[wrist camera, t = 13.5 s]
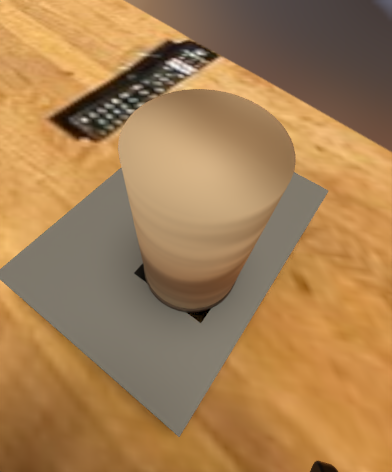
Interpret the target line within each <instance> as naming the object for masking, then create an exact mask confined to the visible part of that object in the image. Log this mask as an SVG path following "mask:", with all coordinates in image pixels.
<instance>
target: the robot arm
mask: <svg viewBox="0 0 392 472" xmlns="http://www.w3.org/2000/svg"><path fill="white" fill-rule="evenodd" d="M310 472H338V471H337V469H336V468H335V467H334V466H333V465H331V464H328V463H324V462H321V461H316V462H314V464H313V466H312V468H311V471H310Z"/></svg>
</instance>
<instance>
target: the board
mask: <svg viewBox="0 0 392 472" xmlns="http://www.w3.org/2000/svg"><path fill="white" fill-rule="evenodd" d="M327 193H328V190H326V189H324V188H322V187H321V186H319V185H317V184H315V183H313V182H311V181H309V180H308V179H306V178H304V177H302V176H300V175H298V174H296V173H295V172H294V173H293V176H292V178H291V181H290V183H289V184H288V186H287V188H286V190H285V192H284V193H283V195H282V197H281V199H280V201H279V203H278V204H277V206H276V208H275V210H274V212H273V213H272V215H271V217H270V219H269V221H268V223H267V224H266V226H265V228H264V230H263V232H262V234H261V235H260V237H259V239H258V241H257V243H256V244H255V246H254V248H253V250H252V252H251V254H250V255H249V257H248V259H247V261H246V263H245V264H244V266H243V268H242V270H241V272H240V274H239V275H238V277H237V280H236V282H235V285H234V286H233V288H232V290H231V292H230V293H229V295H228V296H227V297H226V298H225V299H224V300H223V301H222V302H221V303H219V304H218V305H217V306H215V307H213V308H211V310H210V311H209V312H208V314H207V315H206V317H205V318H204V320H203V321H202V323H200V322H198V321H197V320H196V319H194V318H193V317H192V316H190V315H189V314H188V313H186V312H181V311H177V310H174V309H172V308H170V307H168V306H166V305H164V304H163V303H162V302H160V301H159V300H158V299H157V298H156V297H155V296H154V295H153V293H152V292H151V290H150V288H149V286H148V284H147V281H146V278H145V273H144V265H143V261H142V256H141V252H140V247H139V243H138V238H137V234H136V230H135V225H134V221H133V216H132V212H131V207H130V203H129V198H128V194H127V190H126V185H125V181H124V176H123V172H122V167H121V168H120V169H119V170H118V171H117V172H116V173H114V174H113V175H112V176H111V177H110V178H108V179H107V180H106V181H105V182H104V183H102V184H101V185H100V186H99V187H98V188H96V189H95V190H94V191H93V192H92V193H91V194H89V195H88V196H87V197H86V198H85V199H83V200H82V201H81V202H80V203H79V204H77V205H76V206H75V207H74V208H73V209H71V210H70V211H69V212H68V213H67V214H65V215H64V216H63V217H62V218H61V219H60V220H58V221H57V222H56V223H55V224H54V225H52V226H51V227H50V228H49V229H48V230H46V231H45V232H44V233H43V234H42V235H40V236H39V237H38V238H37V239H36V240H35V241H33V242H32V243H31V244H30V245H29V246H27V247H26V248H25V249H24V250H23V251H21V252H20V253H19V254H18V255H17V256H15V257H14V258H13V259H12V260H11V261H10V262H8V263H7V264H6V265H5V266H4V267H2V268H1V269H0V280H1V281H2V282H4V283H5V284H6V285H7V286H8V287H9V288H10V289H12V290H13V291H14V292H15V293H16V294H17V295H18V296H20V297H21V298H22V299H23V300H24V301H25V302H26V303H27V304H29V305H30V306H31V307H32V308H33V309H34V310H35V311H37V312H38V313H39V314H40V315H41V316H42V317H43V318H45V319H46V320H47V321H48V322H49V323H50V324H51V325H52V326H54V327H55V328H56V329H57V330H58V331H59V332H60V333H62V334H63V335H64V336H65V337H66V338H67V339H68V340H70V341H71V342H72V343H73V344H74V345H75V346H76V347H77V348H79V349H80V350H81V351H82V352H83V353H84V354H85V355H87V356H88V357H89V358H90V359H91V360H92V361H93V362H95V363H96V364H97V365H98V366H99V367H100V368H101V369H102V370H104V371H105V372H106V373H107V374H108V375H109V376H110V377H112V378H113V379H114V380H115V381H116V382H117V383H118V384H120V385H121V386H122V387H123V388H124V389H125V390H126V391H127V392H129V393H130V394H131V395H132V396H133V397H134V398H135V399H137V400H138V401H139V402H140V403H141V404H142V405H143V406H145V407H146V408H147V409H148V410H149V411H150V412H151V413H152V414H154V415H155V416H156V417H157V418H158V419H159V420H160V421H162V422H163V423H164V424H165V425H166V426H167V427H168V428H170V429H171V430H172V431H173V432H174V433H175V434H176V435H177V436H179V437H180V435H181V433H182V432H183V430H184V429H185V427H186V425H187V424H188V422H189V420H190V419H191V417H192V415H193V414H194V412H195V410H196V409H197V407H198V405H199V404H200V402H201V400H202V399H203V397H204V396H205V394H206V392H207V391H208V389H209V387H210V386H211V384H212V382H213V381H214V379H215V377H216V376H217V374H218V372H219V371H220V369H221V367H222V366H223V364H224V363H225V361H226V359H227V358H228V356H229V354H230V353H231V351H232V349H233V348H234V346H235V344H236V343H237V341H238V339H239V338H240V336H241V335H242V333H243V331H244V330H245V328H246V326H247V325H248V323H249V321H250V320H251V318H252V316H253V315H254V313H255V311H256V310H257V308H258V306H259V305H260V303H261V302H262V300H263V298H264V297H265V295H266V293H267V292H268V290H269V288H270V287H271V285H272V283H273V282H274V280H275V278H276V277H277V275H278V273H279V272H280V270H281V269H282V267H283V265H284V264H285V262H286V260H287V259H288V257H289V255H290V254H291V252H292V250H293V249H294V247H295V245H296V244H297V242H298V241H299V239H300V237H301V236H302V234H303V232H304V231H305V229H306V227H307V226H308V224H309V222H310V221H311V219H312V217H313V216H314V214H315V212H316V211H317V209H318V208H319V206H320V204H321V203H322V201H323V199H324V198H325V196H326V194H327Z"/></svg>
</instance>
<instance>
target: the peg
mask: <svg viewBox="0 0 392 472" xmlns="http://www.w3.org/2000/svg"><path fill="white" fill-rule="evenodd" d="M118 151H119V159H120V163H121V167H122V172H123V176H124V181H125V185H126V190H127V194H128V198H129V203H130V207H131V212H132V216H133V221H134V225H135V230H136V234H137V238H138V243H139V247H140V252H141V256H142V261H143V265H144V273H145V278H146V281H147V284H148V286H149V288H150V290H151V292H152V293H153V295H154V296H155V297H156V298H157V299H158V300H159V301H160V302H162V303H163V304H164V305H166V306H168V307H170V308H172V309H174V310H177V311H181V312H190V313H194V312H201V311H206V310H208V309H211V308H213V307H215V306H217V305H218V304H219V303H221V302H222V301H223V300H224V299H225V298H226V297H227V296H228V295H229V293H230V292H231V290H232V288H233V286H234V285H235V282H236V280H237V277H238V275H239V274H240V272H241V270H242V268H243V266H244V264H245V263H246V261H247V259H248V257H249V255H250V254H251V252H252V250H253V248H254V246H255V244H256V243H257V241H258V239H259V237H260V235H261V234H262V232H263V230H264V228H265V226H266V224H267V223H268V221H269V219H270V217H271V215H272V213H273V212H274V210H275V208H276V206H277V204H278V203H279V201H280V199H281V197H282V195H283V193H284V192H285V190H286V188H287V186H288V184H289V183H290V181H291V178H292V176H293V173H294V169H295V151H294V146H293V143H292V141H291V138H290V136H289V135H288V133H287V131H286V130H285V128H284V127H283V126H282V124H281V123H280V122H279V121H278V120H277V119H276V118H275V117H274V116H273V115H272V114H270V113H269V112H268V111H267V110H265V109H264V108H262V107H261V106H259V105H257V104H255V103H254V102H252V101H249V100H247V99H245V98H243V97H240V96H237V95H234V94H230V93H226V92H221V91H215V90H205V89H193V90H182V91H176V92H172V93H168V94H165V95H162V96H159V97H157V98H154V99H152V100H150V101H148V102H147V103H145V104H144V105H142V106H141V107H140V108H138V109H137V110H136V111H135V112H134V113H133V114H132V115H131V116H130V117H129V118H128V120H127V121H126V123H125V124H124V126H123V129H122V131H121V133H120V138H119V145H118Z"/></svg>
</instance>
